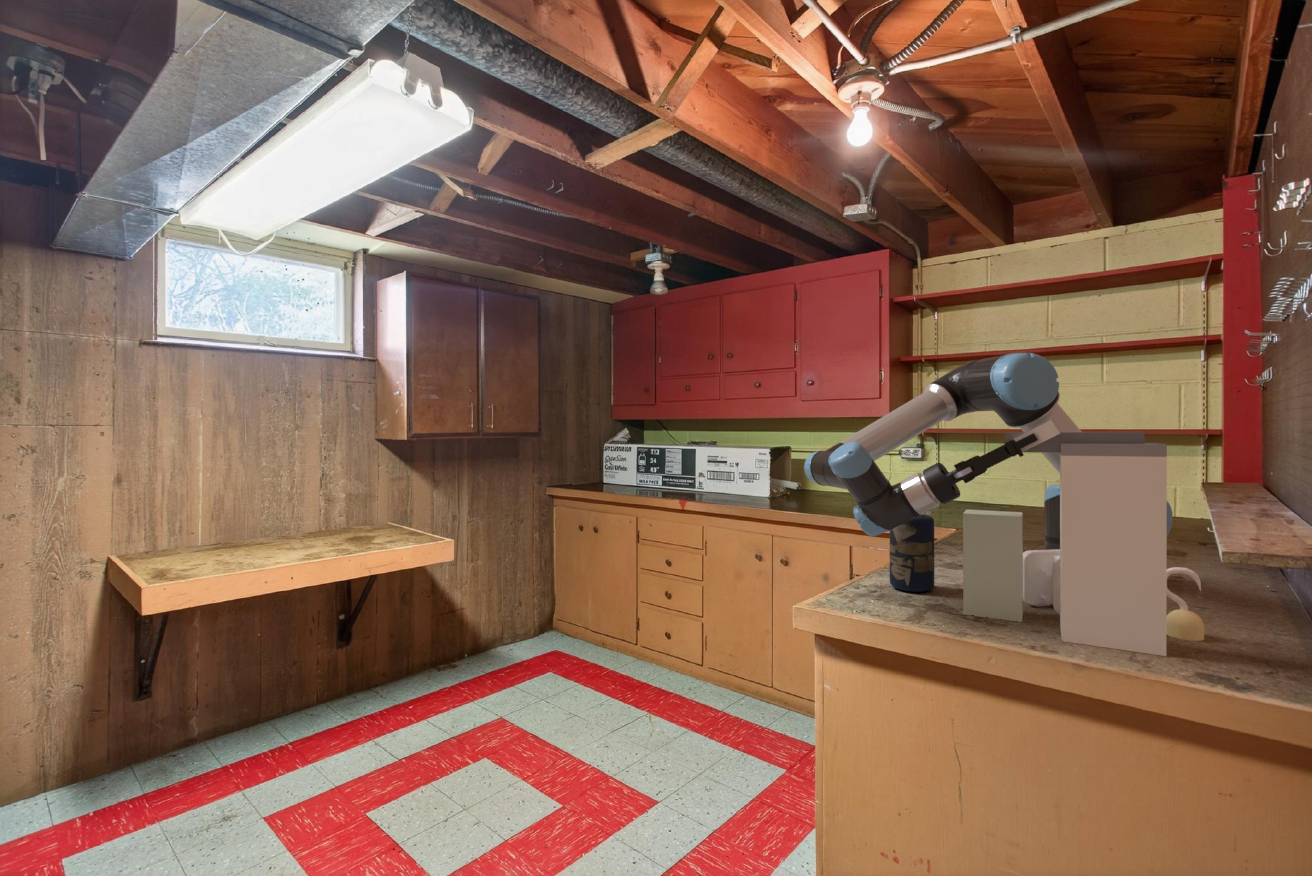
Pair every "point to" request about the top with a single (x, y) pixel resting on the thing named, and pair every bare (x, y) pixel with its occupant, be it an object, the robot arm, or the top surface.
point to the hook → (1183, 613)
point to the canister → (912, 555)
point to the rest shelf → (993, 564)
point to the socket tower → (1114, 546)
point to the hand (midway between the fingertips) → (1055, 426)
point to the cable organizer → (1042, 578)
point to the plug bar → (1081, 439)
